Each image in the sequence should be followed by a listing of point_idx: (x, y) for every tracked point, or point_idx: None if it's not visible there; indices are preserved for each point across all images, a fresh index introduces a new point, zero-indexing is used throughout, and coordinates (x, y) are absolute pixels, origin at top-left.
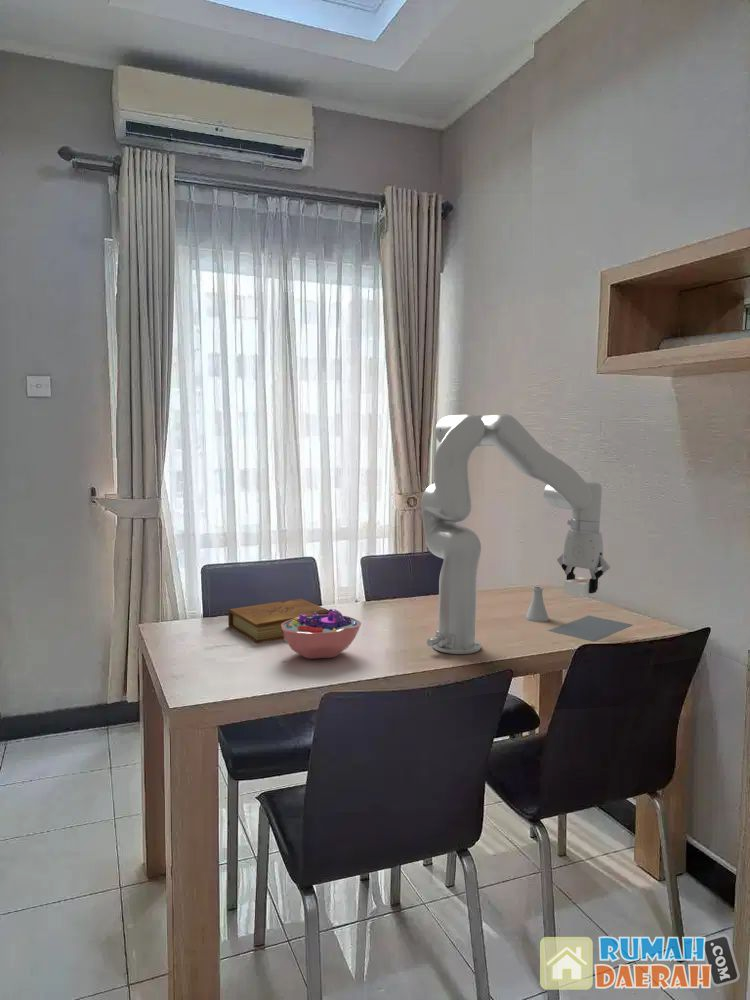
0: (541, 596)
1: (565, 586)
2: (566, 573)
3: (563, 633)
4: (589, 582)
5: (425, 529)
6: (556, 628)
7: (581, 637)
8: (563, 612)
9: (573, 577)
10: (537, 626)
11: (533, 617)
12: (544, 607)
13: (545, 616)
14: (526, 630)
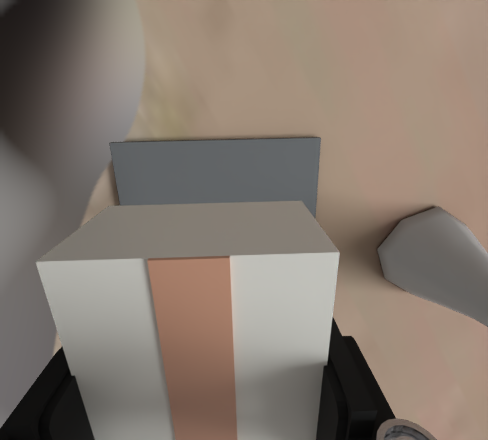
0: (482, 308)
1: (298, 225)
2: (410, 438)
3: (253, 149)
4: (68, 384)
5: None
6: (308, 192)
7: (173, 154)
8: (385, 383)
9: (321, 437)
10: (385, 180)
11: (433, 222)
12: (428, 288)
13: (396, 257)
14: (398, 92)
